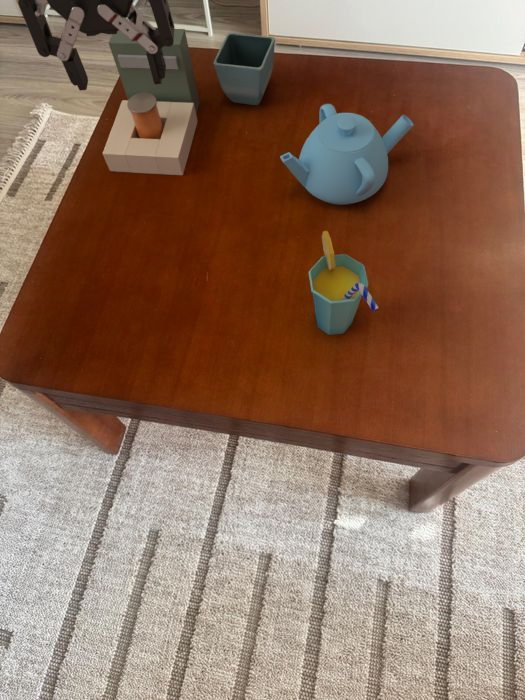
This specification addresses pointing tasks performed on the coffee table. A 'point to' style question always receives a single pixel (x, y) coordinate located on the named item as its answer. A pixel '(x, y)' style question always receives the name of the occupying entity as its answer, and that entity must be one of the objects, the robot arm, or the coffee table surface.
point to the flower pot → (245, 66)
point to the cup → (337, 289)
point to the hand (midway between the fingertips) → (121, 82)
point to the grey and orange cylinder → (146, 115)
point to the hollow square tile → (152, 141)
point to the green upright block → (139, 75)
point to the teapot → (345, 157)
